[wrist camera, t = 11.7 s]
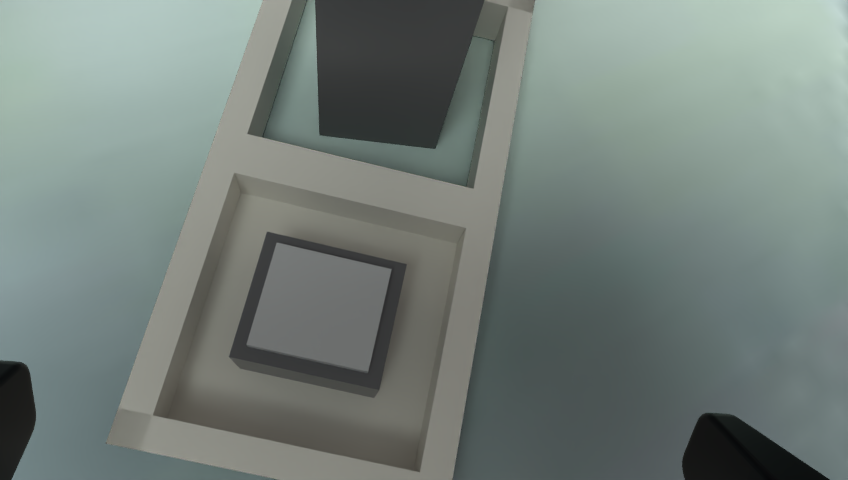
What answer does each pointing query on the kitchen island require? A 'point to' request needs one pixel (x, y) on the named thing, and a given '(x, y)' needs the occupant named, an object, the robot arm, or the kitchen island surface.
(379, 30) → the iec plug
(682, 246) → the kitchen island surface
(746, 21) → the kitchen island surface
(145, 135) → the kitchen island surface
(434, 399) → the beige divided rectangular frame
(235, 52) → the kitchen island surface
